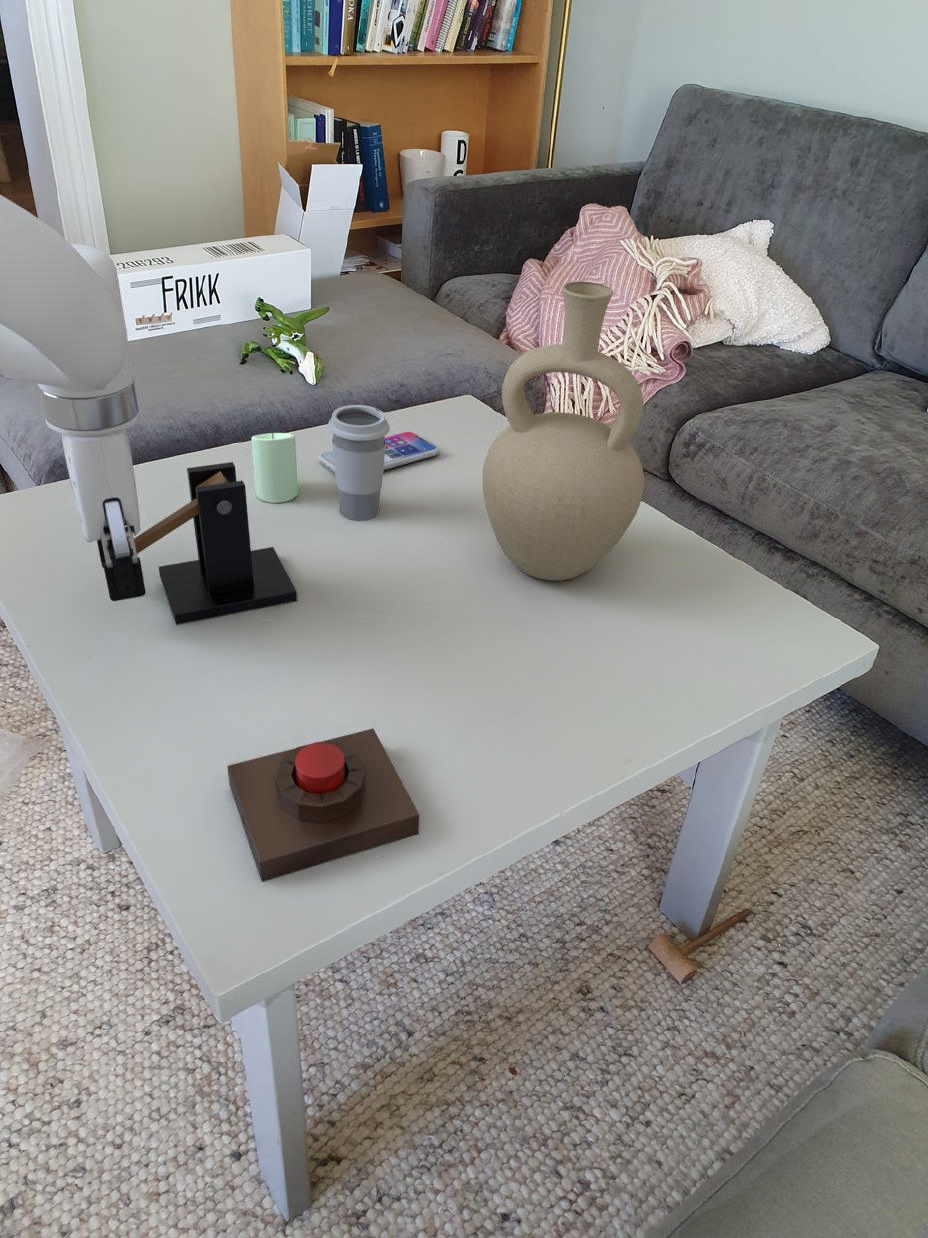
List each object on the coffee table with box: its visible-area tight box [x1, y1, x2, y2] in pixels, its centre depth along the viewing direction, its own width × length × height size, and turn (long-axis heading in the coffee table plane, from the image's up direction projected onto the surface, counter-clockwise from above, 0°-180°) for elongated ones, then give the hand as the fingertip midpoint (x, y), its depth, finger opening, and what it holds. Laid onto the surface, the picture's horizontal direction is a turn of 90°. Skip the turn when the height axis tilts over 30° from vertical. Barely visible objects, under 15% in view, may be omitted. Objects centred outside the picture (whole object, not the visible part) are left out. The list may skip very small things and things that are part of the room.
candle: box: [251, 432, 299, 504], centre depth 108 cm, size 5×5×8 cm
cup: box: [327, 404, 390, 521], centre depth 105 cm, size 7×7×12 cm
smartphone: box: [318, 431, 440, 474], centre depth 119 cm, size 7×1×15 cm
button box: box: [226, 728, 420, 882], centre depth 69 cm, size 12×10×4 cm
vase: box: [482, 280, 645, 582], centre depth 92 cm, size 17×17×30 cm
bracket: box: [158, 461, 298, 625], centre depth 90 cm, size 12×9×13 cm
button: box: [295, 742, 345, 794], centre depth 68 cm, size 4×4×2 cm
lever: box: [109, 471, 228, 555], centre depth 87 cm, size 13×5×2 cm, turn 114°
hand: (123, 579), depth 88 cm, fingers closed on lever, 5 cm apart
